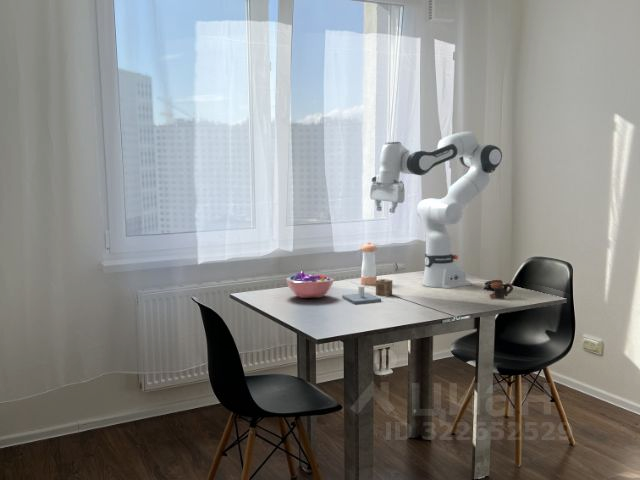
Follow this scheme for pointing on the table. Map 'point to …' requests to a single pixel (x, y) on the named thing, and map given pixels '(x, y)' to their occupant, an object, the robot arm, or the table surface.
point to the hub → (361, 297)
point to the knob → (384, 287)
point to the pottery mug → (498, 289)
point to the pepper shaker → (368, 264)
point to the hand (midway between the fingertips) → (385, 211)
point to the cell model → (309, 285)
